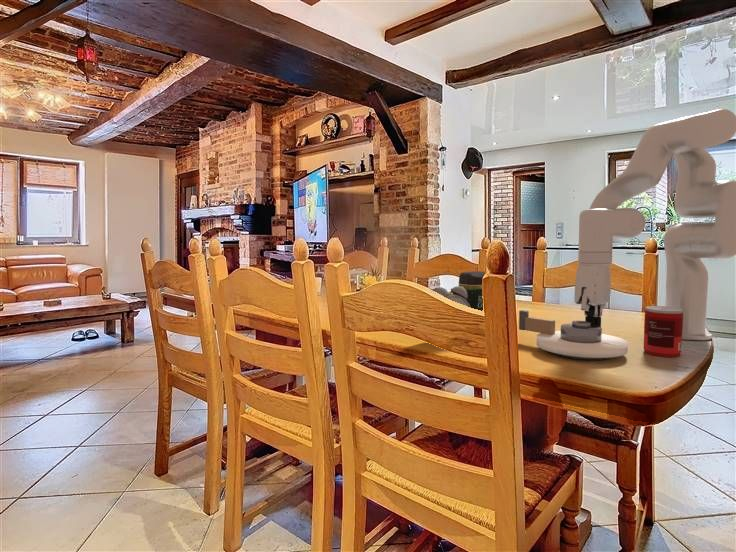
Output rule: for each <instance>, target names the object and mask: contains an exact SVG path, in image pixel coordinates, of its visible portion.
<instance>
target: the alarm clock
mask: <svg viewBox="0 0 736 552" xmlns="http://www.w3.org/2000/svg"><path fill="white" fill-rule="evenodd" d="M432 291H435V292H437V293H439V294H441V295H443V296H444V297H446V298H448V299H450V300H452V301H455V302H457V303H460V304H463V305H466V306H468V307H470V305H469V303H468V302H467V300H466V299H467V297H468V294H467V291H466V290H465V289H464V287H463V286H461V287H460V286H459V285H458V286H454V287H451V288H450V292H448V290H447V289H446V288H445V287H442V286H441V287H440V286H439V287H438V286H437V287H435V288H433V290H432Z"/></svg>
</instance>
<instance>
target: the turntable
mask: <svg viewBox="0 0 736 552" xmlns="http://www.w3.org/2000/svg"><path fill="white" fill-rule="evenodd" d="M529 313H530V311H529V310H525V309H523V310H522V309H521V310H519V311H518V330H520V331H528V332H534V333H538V334H536V339H535V340H536V347H538V348H539V349H541V350H544V351H545V352H546V351H547V352H550V353H551V352H553V353H557V354H562V355H569V356H576V357H588V358H610V357H612V358H617V357H621V356H622V357H623V356H625V355H627V354H628V352H629V350H628V348H629V343H628V341H627V340H625V339H624V338H621V337H618V336H615V335H611V334H605V333H602V339H601V342H599V343H575V342H569V341H565V340H562V339H561V338H560V335H561V330H556V320H555V319H548V318H540V317H535V316H533V317H532V316H529V315H530V314H529ZM610 359H611V358H610Z"/></svg>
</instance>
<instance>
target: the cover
mask: <svg viewBox="0 0 736 552" xmlns="http://www.w3.org/2000/svg"><path fill="white" fill-rule="evenodd" d="M602 330H603V328H602V326H601V327H599V326H595V325H590V322H587V321H585V320H573V321H571V323H563V324H561V325H560V331H561V335H560V338H561V339H562V340H565V341H569V342H575V343H599V342H601V339H602V334H603V331H602Z"/></svg>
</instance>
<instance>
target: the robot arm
mask: <svg viewBox="0 0 736 552" xmlns="http://www.w3.org/2000/svg"><path fill="white" fill-rule="evenodd" d="M735 135H736V114H735V113H734V112H733V111H731V110H729V109H728V108H727V109H726V108H719V109H716V110H711V111H708V112H702V113H698V114H695V115H690V116H689V115H688V116H684V117H680V118H677V119H673V120H668V121H664V122H660V123H656V124H654V125H652V126H650V127H649V128H648V129H646V130H645V132H643V134H642V136H641V139H640V141H639V143H638V144H637V146H636V149H635V150H634V152H633V154H632V155H631V158H630V160H629V162H628V164H627V166H626V167H625V169H624V171H622V173H620V174H619V175H618V176H616V177H615V178H614V179H613V180H612V181H610V182H609V184H607V185H606V186H605V187H603V189H602V190H601V191H599V193H598V194H597V195H596V196H595V198H594V199H593V201H592V202H591V204H590V207H589V208H587V209H583V210H582V211H580V214H579V219H578V224H579V225H578V250H577V251H578V255H577V256H578V257H577V265H578V266H577V270H576V275H575V276H576V277H575V283H574V284H575V285H574V297H573V298H574V301H573V302H574V304H576V305H580V310H581V311H582V312H584V318H585V319H584V321H587V322H590V325H595V326H599V327H601V328H602V316H603V309H604V308H606V303H609V302H610V300H611V293H612V292H611V291H612V289H611V288H612V286H611V285H612V283H611V282H612V279H611V278H612V277H611V267H610V266H613V242H614V241H613V239H631V238H635V237H637V236H639V235H640V234H641V233H643V231H644V230H645V227H646V223H647V222H646V221H647V220H646V217H645V215H644V214H643V213H642V211H640V210H638V209H636V208H632V207H625V208H624V207H623V208H621V207H620V206H621V205H622V204H623V203H625V202H627V201H628V200H630V199H632V198H634V197H636V196H638V195H641V194H642V193H645V192H647V191H649V190H651V189H653V188H654V187H656V186H657V185H658V184H659V183H660V182H661V180H662V177H663V175H664V173H665V171H666V169H667V168H668V165H669V163H670V161H671V159H672V158H673V159H674V160H675V162H676V166H677V181H676V187H675V197H674V211H675V213H676V215H677V216H679V217H681V218H684V219H704V218H705V219H706V218H709V219H710V218H714V222H712V221H710V222H687V223H686V222H685V223H679V224H675V225H672V226H671V227H668V229H667V230H666V232H665V233H664V235H663V246H664V247H663V248H664V253H665V259H666V260H665V261H666V281H665V282H666V284H665V298H664V299H665V300H664V301H665V304H664V306H667V307H675V308H680V309H683V329H682V340H685V341H710V340H712V339H713V334H712V333H711V332H708V331H706V329H707V327H706V326H707V325H706V324H707V311H708V310H707V308H708V307H707V306H708V290H709V289H708V288H709V271H708V269H707V267H706V265H705V264H704V262H703V261H702V259H730V258H733V257H735V256H736V180H734V179H723V180H716V174H717V164H716V160H715V159H714V157H713V156H712V154H711V153H710V152H709V151H708V150H707V148H711V147H715V146H718V145H719V146H720V145H721V144H725V143H727V142H728V141H730V140H731V139H733V137H734V136H735ZM618 207H620V208H618Z"/></svg>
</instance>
